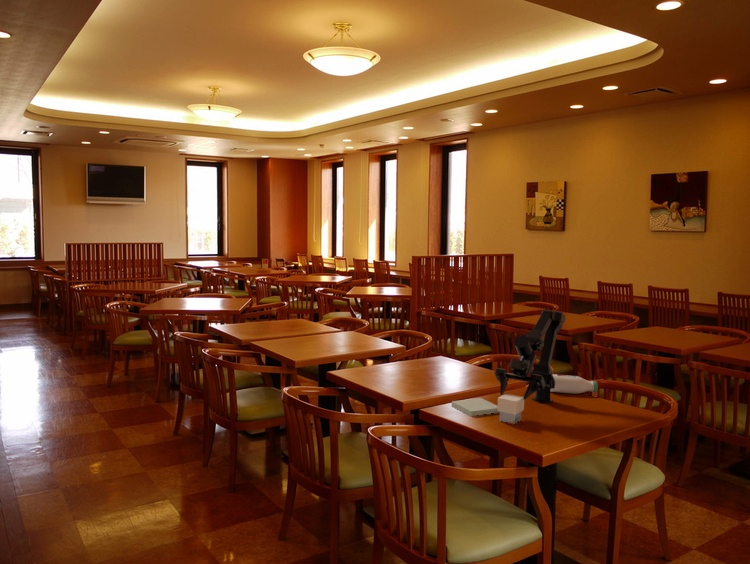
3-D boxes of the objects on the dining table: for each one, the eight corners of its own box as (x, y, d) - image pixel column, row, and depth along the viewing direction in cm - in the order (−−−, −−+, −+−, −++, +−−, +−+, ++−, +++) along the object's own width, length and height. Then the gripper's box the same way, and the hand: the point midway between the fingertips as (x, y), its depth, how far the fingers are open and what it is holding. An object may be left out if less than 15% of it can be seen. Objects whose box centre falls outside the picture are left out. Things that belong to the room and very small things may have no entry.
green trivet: (480, 402, 251) (480, 398, 251) (501, 412, 238) (501, 407, 238) (451, 406, 245) (451, 401, 245) (471, 416, 233) (471, 411, 232)
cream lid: (505, 406, 233) (505, 393, 233) (523, 410, 229) (524, 397, 228) (497, 410, 227) (497, 397, 227) (516, 414, 223) (516, 401, 223)
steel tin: (505, 417, 233) (506, 396, 232) (520, 420, 229) (521, 399, 228) (499, 421, 228) (500, 400, 227) (514, 424, 224) (515, 403, 224)
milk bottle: (549, 395, 270) (595, 399, 267) (551, 384, 265) (599, 388, 262) (548, 381, 275) (593, 385, 273) (550, 370, 270) (597, 374, 267)
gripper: (497, 347, 237) (483, 380, 229) (544, 354, 226) (531, 389, 218) (504, 364, 244) (491, 396, 236) (550, 371, 233) (538, 406, 225)
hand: (512, 396), depth 229 cm, fingers open, 9 cm apart
